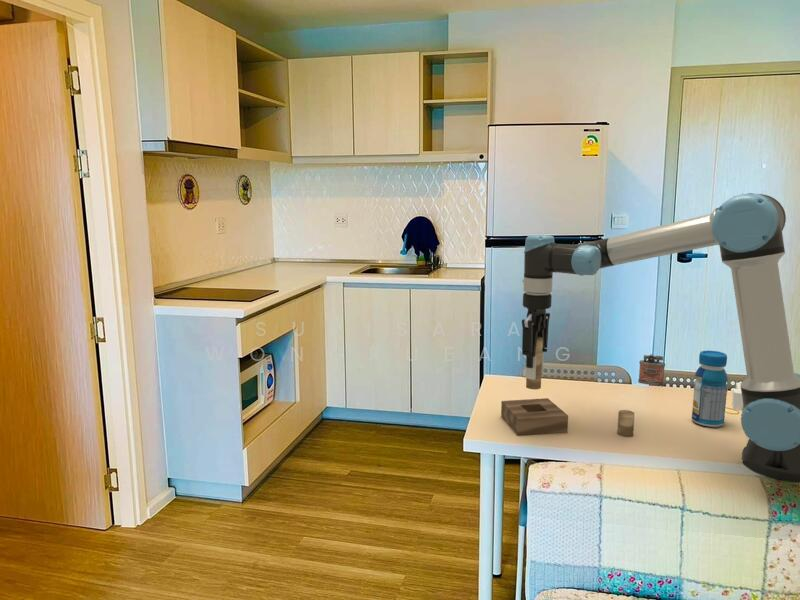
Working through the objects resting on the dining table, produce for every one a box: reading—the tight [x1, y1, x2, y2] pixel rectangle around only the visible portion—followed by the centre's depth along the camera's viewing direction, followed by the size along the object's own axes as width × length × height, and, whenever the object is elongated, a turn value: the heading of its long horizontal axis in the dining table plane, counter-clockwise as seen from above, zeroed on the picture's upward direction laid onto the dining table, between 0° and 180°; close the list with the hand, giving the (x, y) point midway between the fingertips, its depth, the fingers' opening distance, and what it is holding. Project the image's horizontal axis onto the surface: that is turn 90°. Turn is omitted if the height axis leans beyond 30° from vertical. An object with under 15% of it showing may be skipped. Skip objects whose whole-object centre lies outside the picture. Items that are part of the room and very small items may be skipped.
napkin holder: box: [731, 382, 744, 412], centre depth 181 cm, size 15×11×6 cm
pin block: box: [500, 397, 569, 437], centre depth 164 cm, size 14×14×5 cm
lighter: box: [637, 353, 666, 387], centre depth 200 cm, size 8×3×10 cm, turn 62°
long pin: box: [525, 336, 543, 390], centre depth 162 cm, size 4×4×14 cm
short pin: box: [616, 409, 635, 438], centre depth 158 cm, size 4×4×6 cm
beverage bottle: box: [691, 350, 729, 428], centre depth 164 cm, size 8×8×20 cm
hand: (533, 376), depth 163 cm, fingers closed on long pin, 4 cm apart
